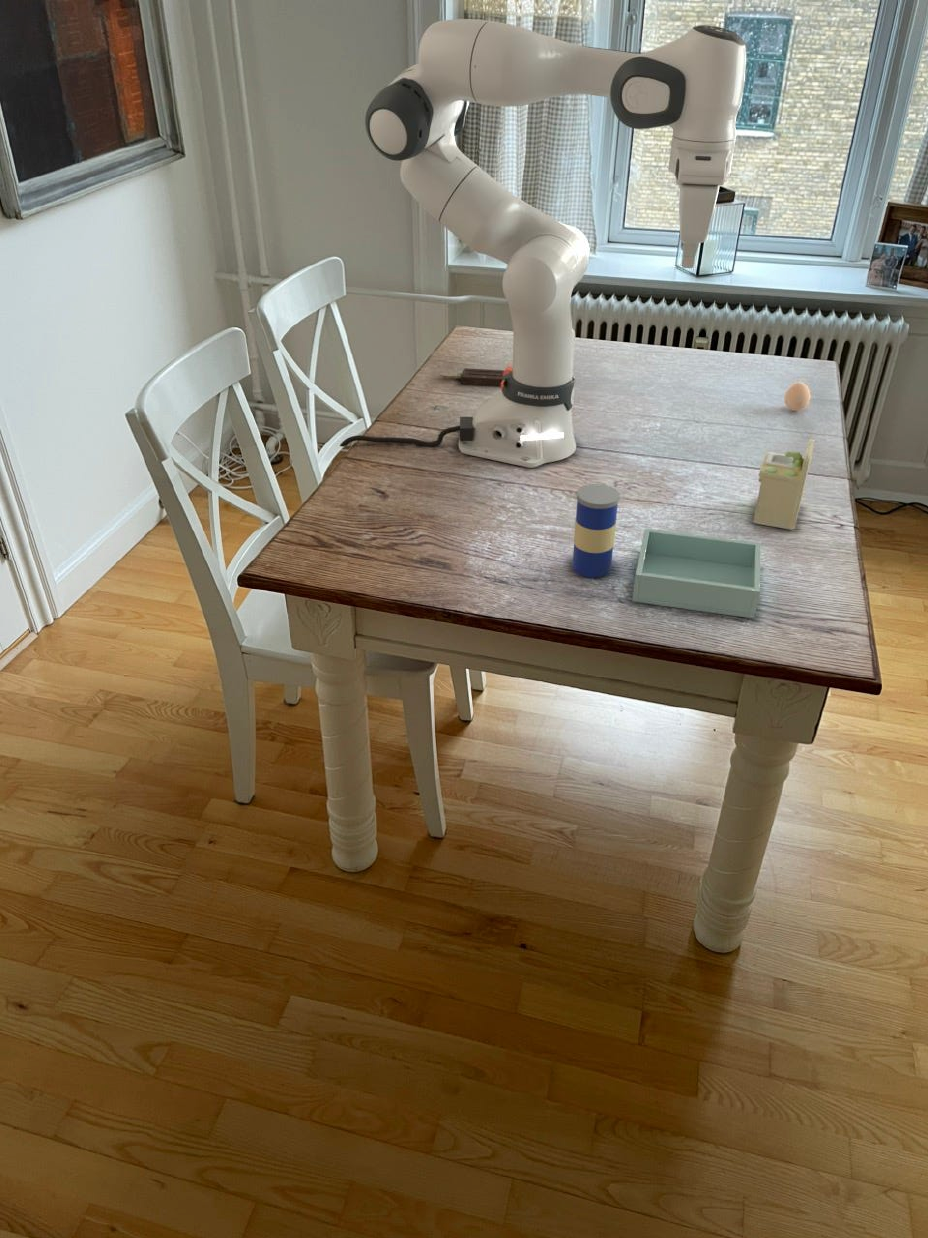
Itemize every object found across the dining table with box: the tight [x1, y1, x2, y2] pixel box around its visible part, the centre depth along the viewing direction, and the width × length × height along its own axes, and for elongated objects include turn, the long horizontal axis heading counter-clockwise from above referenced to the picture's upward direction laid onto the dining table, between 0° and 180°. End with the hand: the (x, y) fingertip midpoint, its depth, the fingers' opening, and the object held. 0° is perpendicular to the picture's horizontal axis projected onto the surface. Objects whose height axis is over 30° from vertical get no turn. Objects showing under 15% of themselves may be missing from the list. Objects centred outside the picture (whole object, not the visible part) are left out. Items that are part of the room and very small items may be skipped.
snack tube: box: [571, 483, 621, 579], centre depth 147 cm, size 6×6×13 cm
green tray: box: [632, 528, 762, 619], centre depth 145 cm, size 18×14×5 cm
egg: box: [783, 381, 811, 412], centre depth 197 cm, size 5×5×6 cm
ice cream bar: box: [440, 367, 505, 387], centre depth 212 cm, size 5×2×15 cm
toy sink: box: [753, 439, 816, 531], centre depth 160 cm, size 8×7×13 cm
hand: (686, 257), depth 147 cm, fingers open, 8 cm apart
